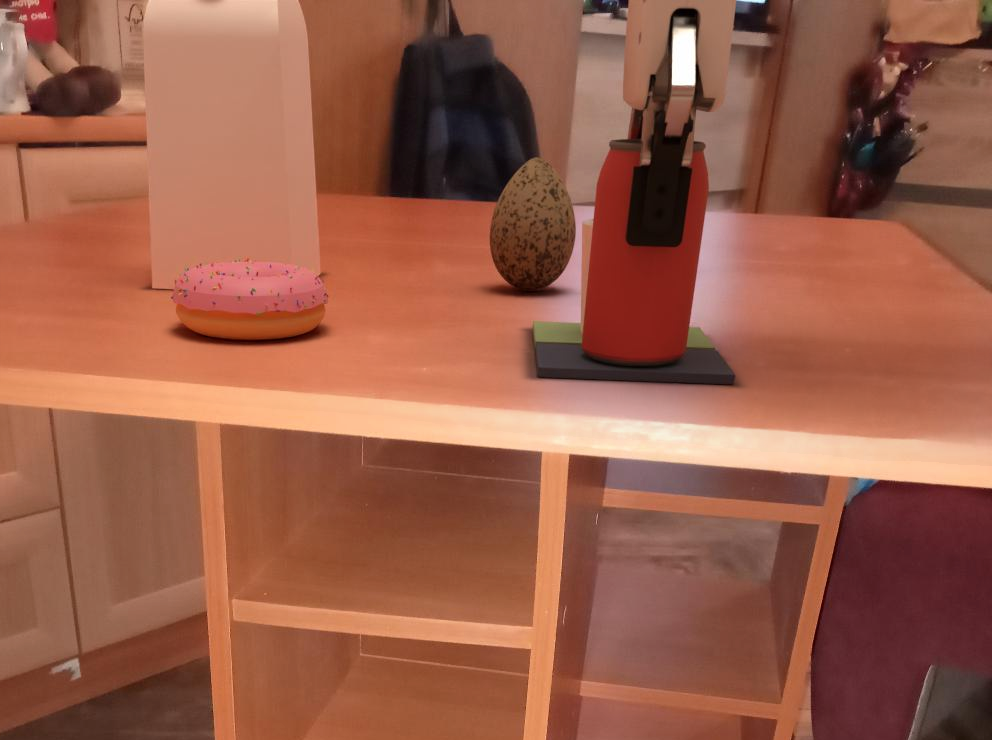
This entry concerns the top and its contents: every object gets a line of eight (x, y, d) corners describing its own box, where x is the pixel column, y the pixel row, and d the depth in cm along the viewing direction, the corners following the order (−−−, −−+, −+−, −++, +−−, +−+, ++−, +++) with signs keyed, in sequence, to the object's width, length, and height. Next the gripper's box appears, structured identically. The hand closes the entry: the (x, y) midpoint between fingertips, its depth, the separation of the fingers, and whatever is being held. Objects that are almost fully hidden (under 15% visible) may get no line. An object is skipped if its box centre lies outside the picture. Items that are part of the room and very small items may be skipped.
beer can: (633, 374, 69) (660, 146, 63) (558, 354, 74) (576, 139, 67) (706, 361, 73) (739, 143, 66) (630, 343, 77) (654, 137, 71)
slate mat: (715, 359, 76) (717, 350, 76) (734, 384, 70) (735, 374, 70) (534, 352, 77) (535, 343, 77) (537, 377, 71) (538, 367, 71)
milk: (320, 273, 104) (316, -88, 90) (293, 294, 94) (283, -106, 80) (192, 268, 105) (167, -89, 91) (152, 288, 96) (118, -108, 82)
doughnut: (232, 309, 88) (229, 250, 86) (357, 325, 84) (357, 263, 82) (142, 333, 80) (136, 268, 78) (274, 351, 76) (272, 283, 73)
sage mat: (698, 335, 83) (700, 327, 83) (713, 356, 77) (715, 347, 77) (532, 329, 84) (533, 321, 83) (534, 350, 78) (535, 340, 77)
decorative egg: (564, 299, 95) (576, 161, 89) (479, 294, 96) (486, 158, 91) (575, 286, 101) (587, 156, 95) (494, 281, 102) (502, 153, 97)
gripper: (803, -169, 52) (732, 260, 62) (738, -118, 67) (689, 223, 77) (637, -171, 53) (593, 255, 63) (608, -120, 67) (576, 220, 77)
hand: (646, 234), depth 69 cm, fingers closed on beer can, 6 cm apart
